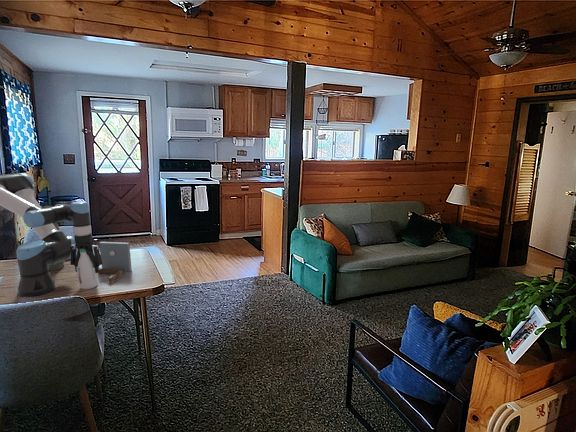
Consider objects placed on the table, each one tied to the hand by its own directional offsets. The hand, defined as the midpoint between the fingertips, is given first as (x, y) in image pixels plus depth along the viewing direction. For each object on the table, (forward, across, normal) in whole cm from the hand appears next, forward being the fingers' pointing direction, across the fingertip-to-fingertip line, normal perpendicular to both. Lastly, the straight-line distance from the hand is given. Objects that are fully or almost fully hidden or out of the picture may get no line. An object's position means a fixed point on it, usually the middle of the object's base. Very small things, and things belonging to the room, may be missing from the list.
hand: (88, 278), depth 187 cm
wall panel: (+4, -2, -21) cm, 21 cm away
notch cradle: (+4, -2, -10) cm, 11 cm away
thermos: (+4, +35, -23) cm, 42 cm away
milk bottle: (+4, 0, 0) cm, 4 cm away
